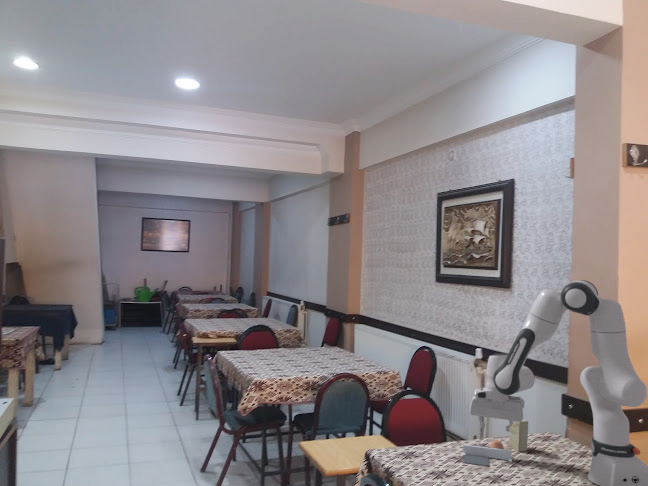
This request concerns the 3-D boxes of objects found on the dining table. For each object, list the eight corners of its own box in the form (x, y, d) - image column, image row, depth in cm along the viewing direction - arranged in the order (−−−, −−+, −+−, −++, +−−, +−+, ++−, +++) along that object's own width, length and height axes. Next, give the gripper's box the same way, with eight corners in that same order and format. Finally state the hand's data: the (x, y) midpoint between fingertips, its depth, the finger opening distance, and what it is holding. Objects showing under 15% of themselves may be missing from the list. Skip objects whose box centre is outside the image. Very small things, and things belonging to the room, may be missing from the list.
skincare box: (508, 446, 213) (509, 416, 214) (517, 445, 215) (518, 416, 215) (518, 452, 207) (519, 421, 208) (528, 451, 209) (528, 420, 209)
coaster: (488, 458, 199) (488, 457, 199) (489, 466, 191) (489, 465, 191) (464, 454, 202) (464, 454, 202) (464, 463, 193) (464, 462, 193)
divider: (510, 457, 200) (510, 448, 201) (511, 462, 196) (511, 453, 196) (462, 451, 205) (462, 442, 205) (462, 456, 200) (462, 446, 200)
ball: (502, 452, 206) (503, 439, 207) (503, 456, 202) (504, 443, 202) (489, 450, 208) (489, 437, 208) (490, 454, 203) (490, 441, 203)
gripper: (523, 395, 206) (521, 430, 205) (470, 389, 211) (468, 423, 210) (525, 399, 200) (523, 435, 199) (471, 392, 205) (469, 427, 204)
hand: (495, 429), depth 205 cm, fingers open, 8 cm apart
